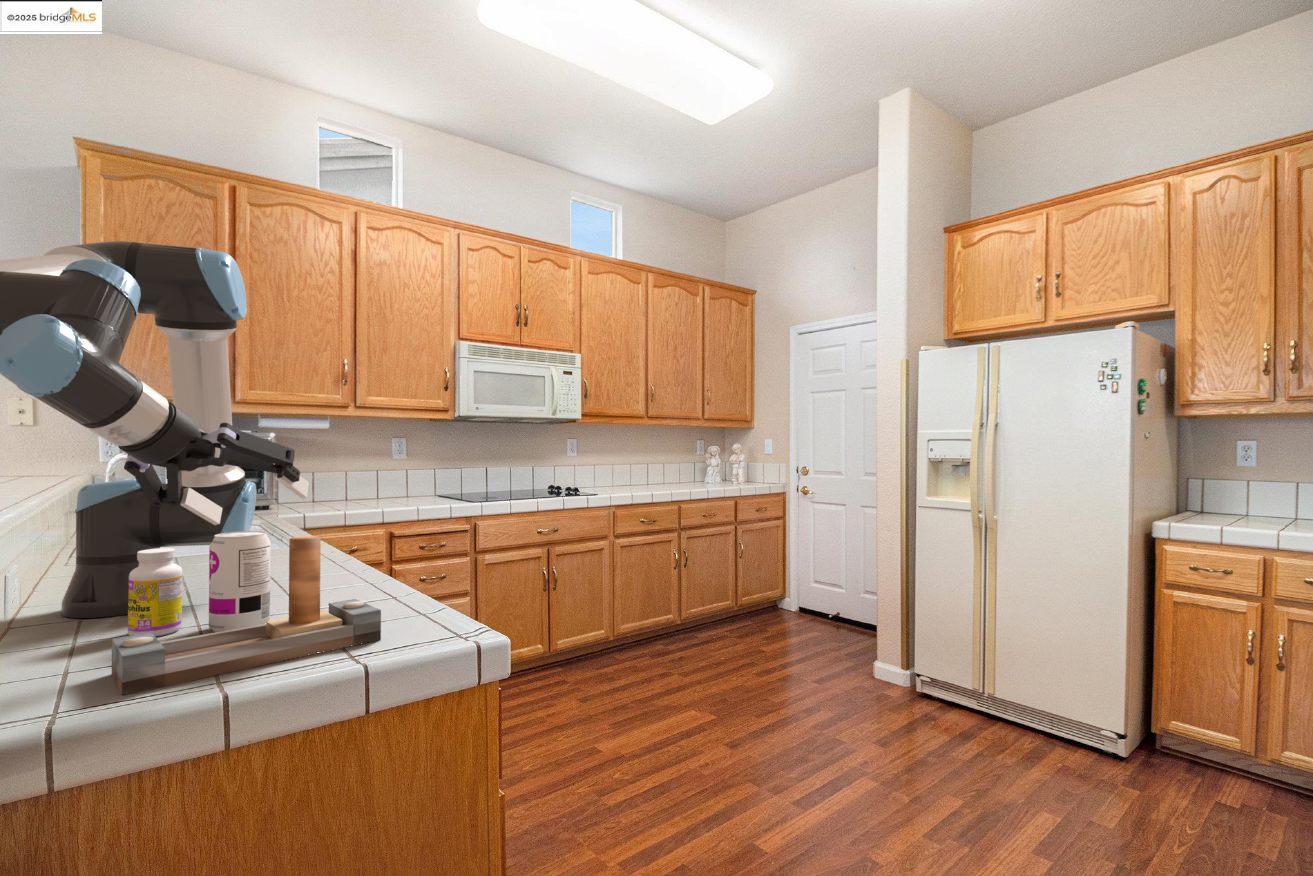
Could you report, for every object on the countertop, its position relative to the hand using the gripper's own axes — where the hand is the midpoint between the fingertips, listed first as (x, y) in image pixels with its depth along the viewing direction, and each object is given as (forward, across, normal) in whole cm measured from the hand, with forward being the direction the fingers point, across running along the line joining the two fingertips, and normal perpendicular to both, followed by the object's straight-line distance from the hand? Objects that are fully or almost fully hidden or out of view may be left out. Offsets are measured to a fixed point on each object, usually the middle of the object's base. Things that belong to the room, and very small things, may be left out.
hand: (262, 503), depth 95 cm
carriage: (+10, +2, -17) cm, 20 cm away
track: (+7, -3, -20) cm, 22 cm away
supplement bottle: (+12, -25, -9) cm, 29 cm away
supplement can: (+16, -14, -10) cm, 24 cm away
